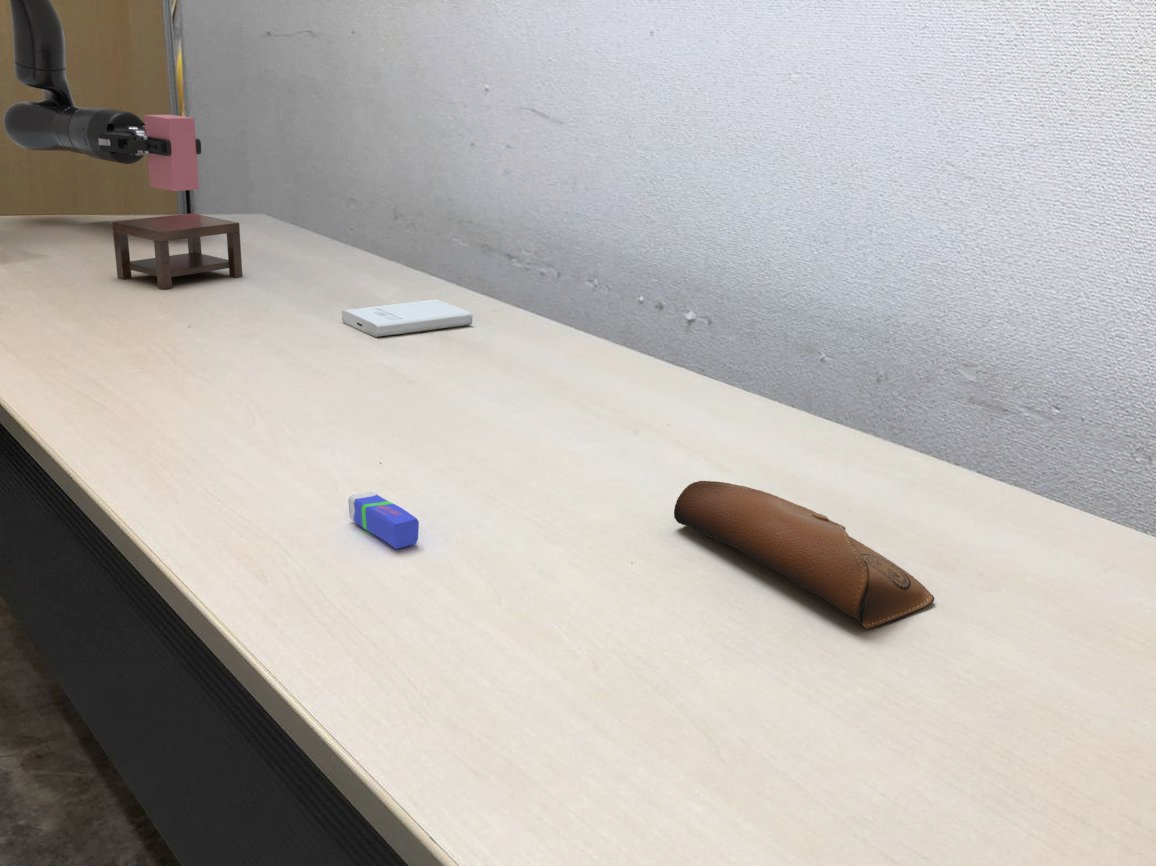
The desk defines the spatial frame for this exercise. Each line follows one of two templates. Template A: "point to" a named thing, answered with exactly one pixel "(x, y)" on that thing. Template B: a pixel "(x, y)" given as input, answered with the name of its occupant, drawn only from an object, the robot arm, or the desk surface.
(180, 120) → the pink box
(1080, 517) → the desk surface
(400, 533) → the eraser
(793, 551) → the sunglasses case
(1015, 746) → the desk surface
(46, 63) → the robot arm
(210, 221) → the wooden coffee table
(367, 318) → the hard drive
